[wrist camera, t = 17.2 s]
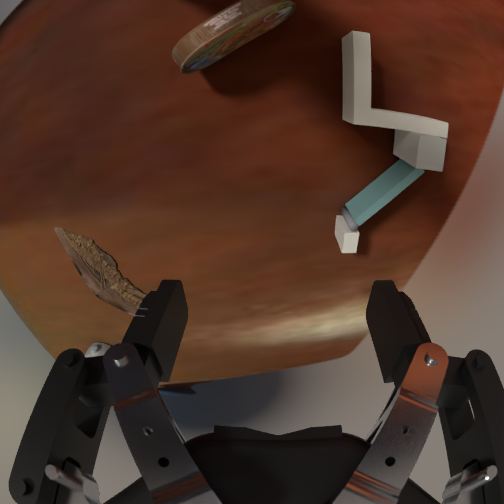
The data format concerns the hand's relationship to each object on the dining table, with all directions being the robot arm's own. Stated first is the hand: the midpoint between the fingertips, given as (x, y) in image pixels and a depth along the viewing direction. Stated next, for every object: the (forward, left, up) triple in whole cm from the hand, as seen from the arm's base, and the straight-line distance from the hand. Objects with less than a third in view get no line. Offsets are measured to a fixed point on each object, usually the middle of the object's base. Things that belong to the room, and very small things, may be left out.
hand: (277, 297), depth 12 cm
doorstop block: (-3, +18, -28) cm, 33 cm away
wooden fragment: (+20, -32, -29) cm, 47 cm away
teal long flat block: (+4, +14, -28) cm, 32 cm away
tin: (-16, -4, -28) cm, 33 cm away
